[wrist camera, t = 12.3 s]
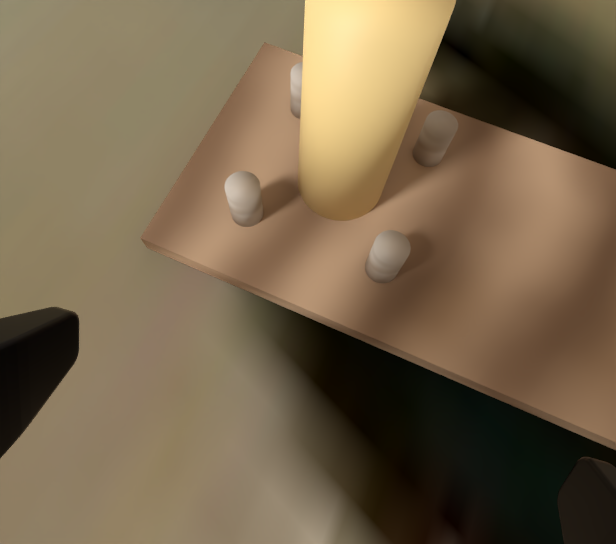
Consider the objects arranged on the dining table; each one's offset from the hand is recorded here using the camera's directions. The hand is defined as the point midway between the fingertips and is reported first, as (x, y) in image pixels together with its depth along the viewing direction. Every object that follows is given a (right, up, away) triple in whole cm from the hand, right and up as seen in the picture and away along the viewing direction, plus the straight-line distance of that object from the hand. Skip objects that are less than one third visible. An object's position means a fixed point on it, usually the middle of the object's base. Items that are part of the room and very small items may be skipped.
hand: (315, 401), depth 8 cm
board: (+6, +4, +16) cm, 18 cm away
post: (+2, +7, +16) cm, 17 cm away
